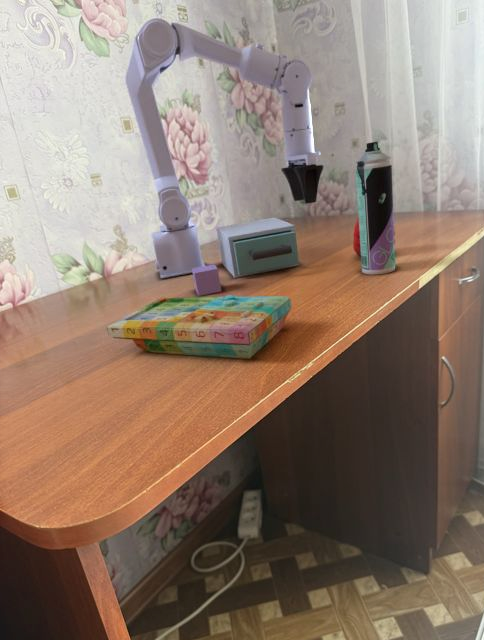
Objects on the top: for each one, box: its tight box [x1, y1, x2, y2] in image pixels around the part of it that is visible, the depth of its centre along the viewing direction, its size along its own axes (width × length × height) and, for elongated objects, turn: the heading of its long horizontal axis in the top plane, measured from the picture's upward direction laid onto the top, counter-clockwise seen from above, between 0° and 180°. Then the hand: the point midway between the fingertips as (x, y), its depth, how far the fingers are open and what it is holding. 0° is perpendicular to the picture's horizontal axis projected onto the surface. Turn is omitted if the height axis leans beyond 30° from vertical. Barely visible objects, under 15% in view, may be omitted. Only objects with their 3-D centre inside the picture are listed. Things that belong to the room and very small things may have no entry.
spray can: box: [355, 141, 396, 275], centre depth 80 cm, size 6×6×20 cm
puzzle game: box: [106, 294, 292, 360], centre depth 63 cm, size 12×5×20 cm
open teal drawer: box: [233, 231, 300, 275], centre depth 94 cm, size 18×11×6 cm, turn 13°
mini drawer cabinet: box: [215, 217, 300, 279], centre depth 99 cm, size 15×13×8 cm
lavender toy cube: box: [191, 263, 222, 297], centre depth 86 cm, size 4×4×4 cm
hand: (304, 201), depth 103 cm, fingers open, 7 cm apart
